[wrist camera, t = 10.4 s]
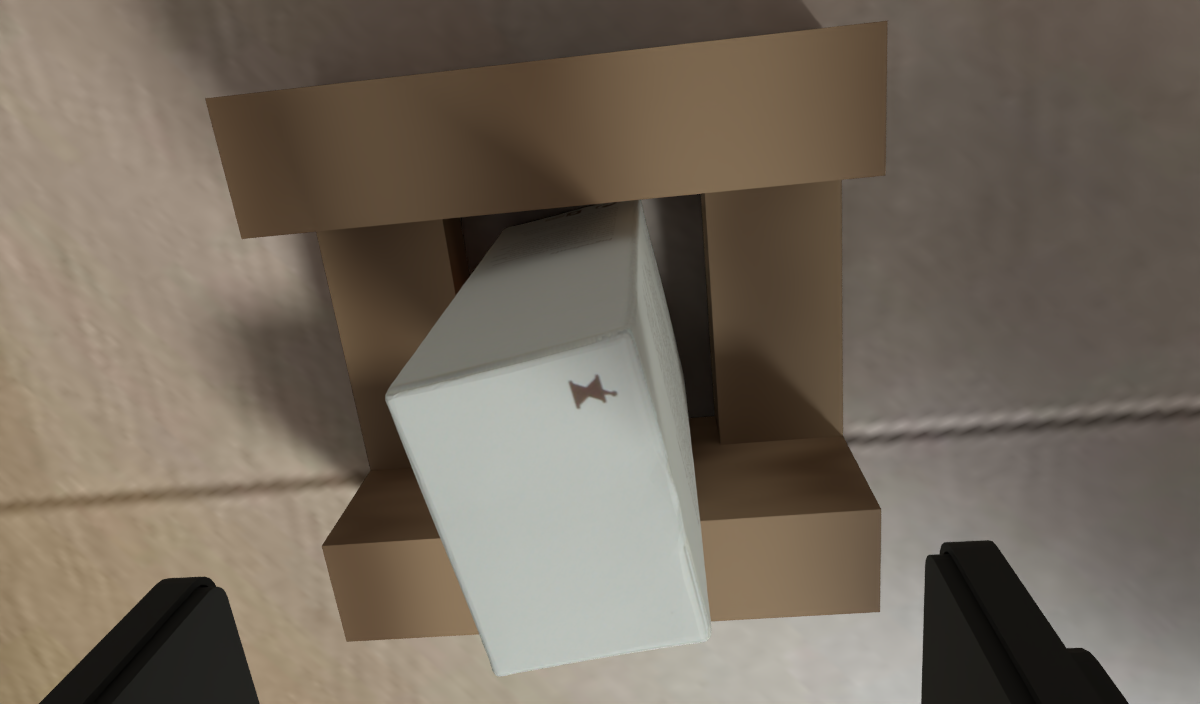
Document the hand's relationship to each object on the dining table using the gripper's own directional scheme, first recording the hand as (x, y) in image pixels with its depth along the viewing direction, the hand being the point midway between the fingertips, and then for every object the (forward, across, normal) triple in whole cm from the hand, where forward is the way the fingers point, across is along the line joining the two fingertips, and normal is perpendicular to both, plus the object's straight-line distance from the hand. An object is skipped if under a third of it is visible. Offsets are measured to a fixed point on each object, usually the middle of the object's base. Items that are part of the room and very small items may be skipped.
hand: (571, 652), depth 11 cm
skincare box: (+15, +1, 0) cm, 15 cm away
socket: (+15, +1, -1) cm, 15 cm away
